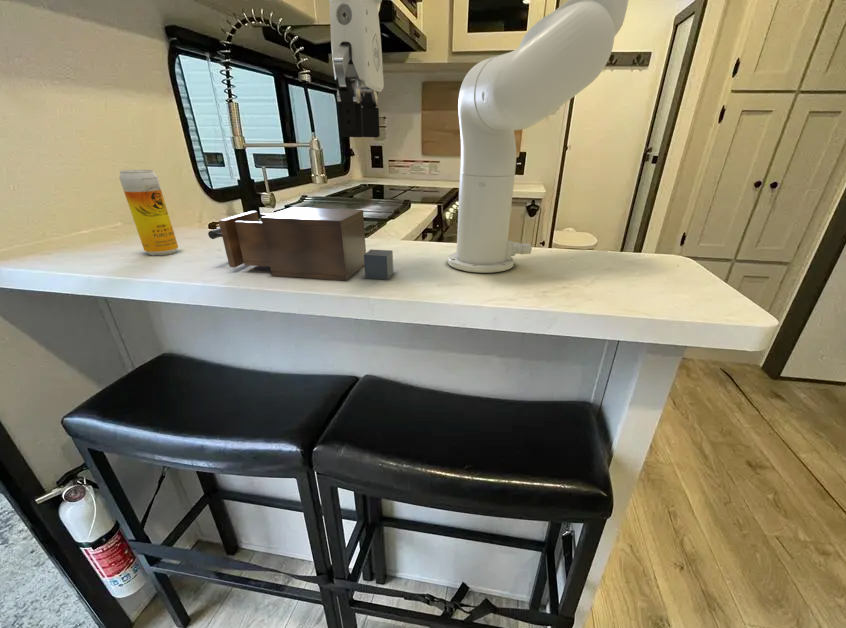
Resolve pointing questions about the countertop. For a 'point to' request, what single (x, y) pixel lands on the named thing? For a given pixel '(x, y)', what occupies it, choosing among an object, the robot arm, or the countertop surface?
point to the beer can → (149, 211)
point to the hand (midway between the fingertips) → (361, 137)
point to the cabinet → (315, 242)
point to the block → (378, 264)
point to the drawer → (243, 239)
